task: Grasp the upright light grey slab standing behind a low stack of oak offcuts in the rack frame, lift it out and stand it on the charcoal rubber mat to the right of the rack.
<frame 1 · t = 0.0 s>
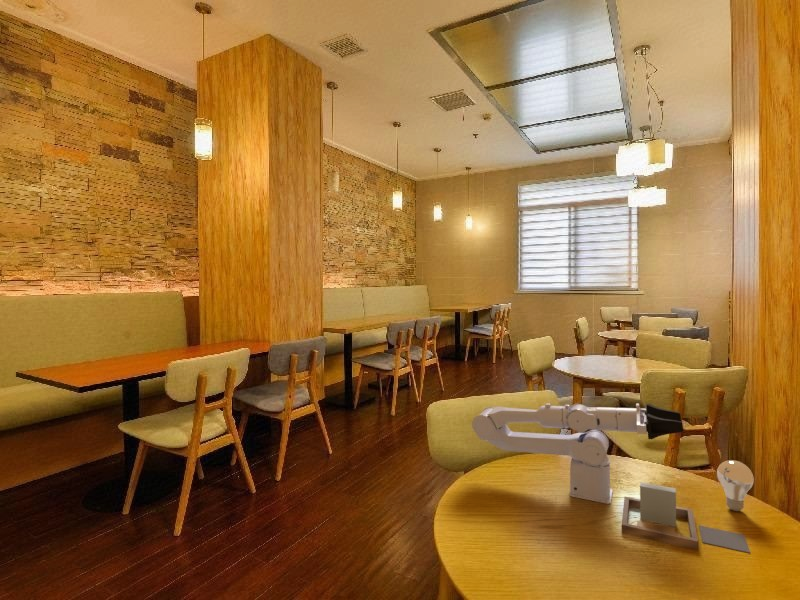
hand: (681, 421, 104), 22 cm above the table, tool horizontal, fingers open, 7 cm apart
rack: (657, 525, 100), on the table
offcut lower: (658, 537, 97), on the table, touching offcut upper
light bulb: (734, 511, 105), on the table
light grey slab: (657, 521, 101), on the table
mat: (723, 539, 94), on the table
offcut upper: (656, 532, 97), resting on offcut lower
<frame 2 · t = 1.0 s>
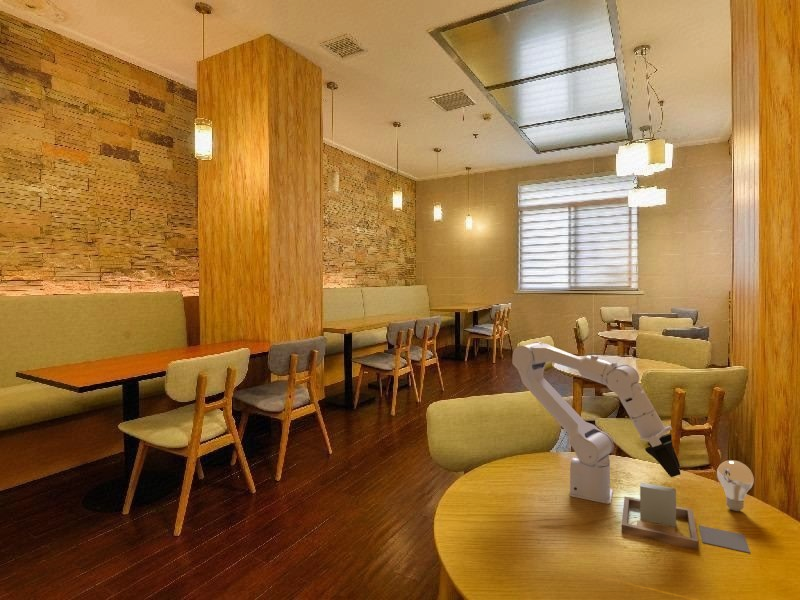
hand: (675, 471, 100), 12 cm above the table, tool tilted 30°, fingers open, 7 cm apart
nothing on the table moved.
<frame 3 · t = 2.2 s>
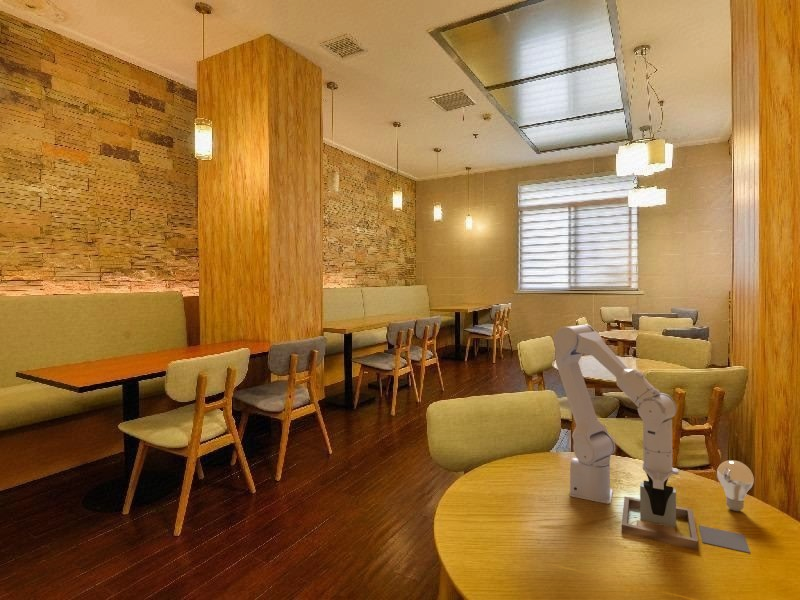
hand: (657, 506, 101), 3 cm above the table, tool pointing down, fingers open, 7 cm apart
nothing on the table moved.
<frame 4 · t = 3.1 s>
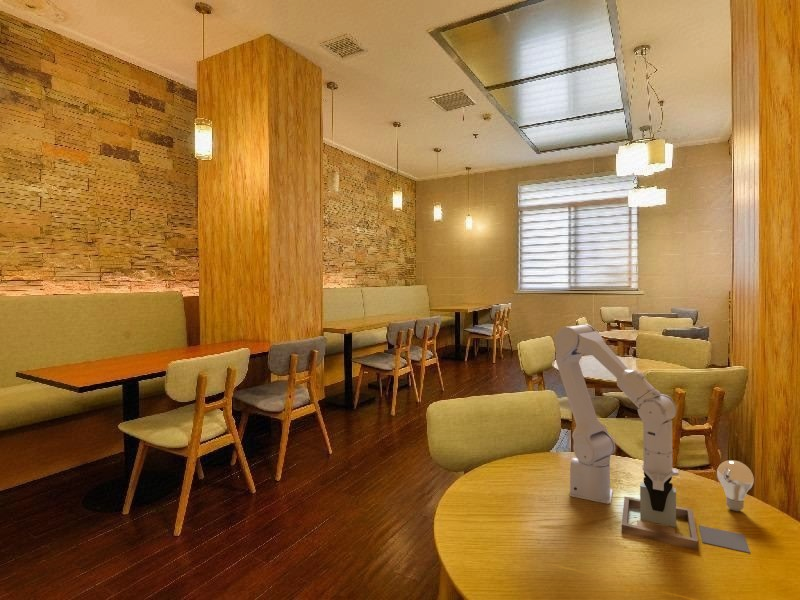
hand: (657, 507, 101), 3 cm above the table, tool pointing down, fingers closed on light grey slab, 2 cm apart
light grey slab: (657, 521, 101), on the table, touching gripper
everything else where it was.
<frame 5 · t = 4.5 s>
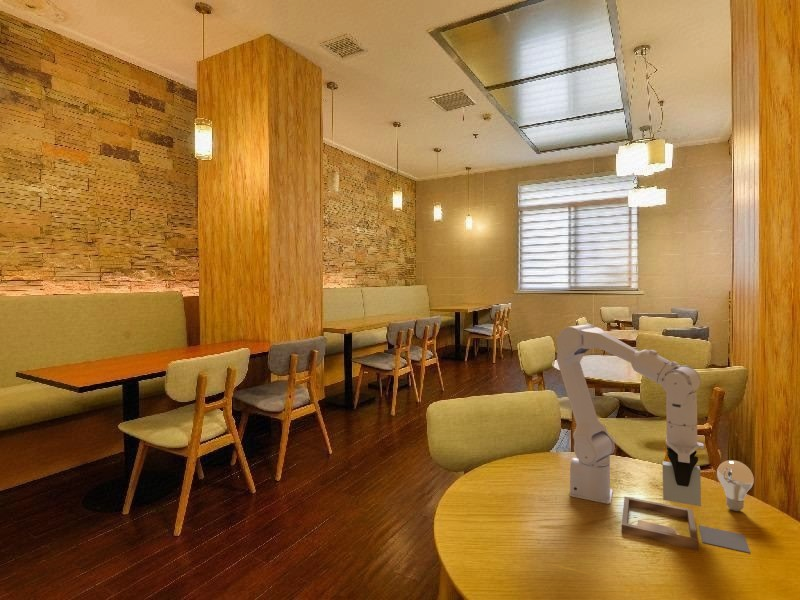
hand: (682, 482, 98), 10 cm above the table, tool pointing down, fingers closed on light grey slab, 2 cm apart
light grey slab: (681, 500, 98), point 6 cm above the table, touching gripper
everything else where it was.
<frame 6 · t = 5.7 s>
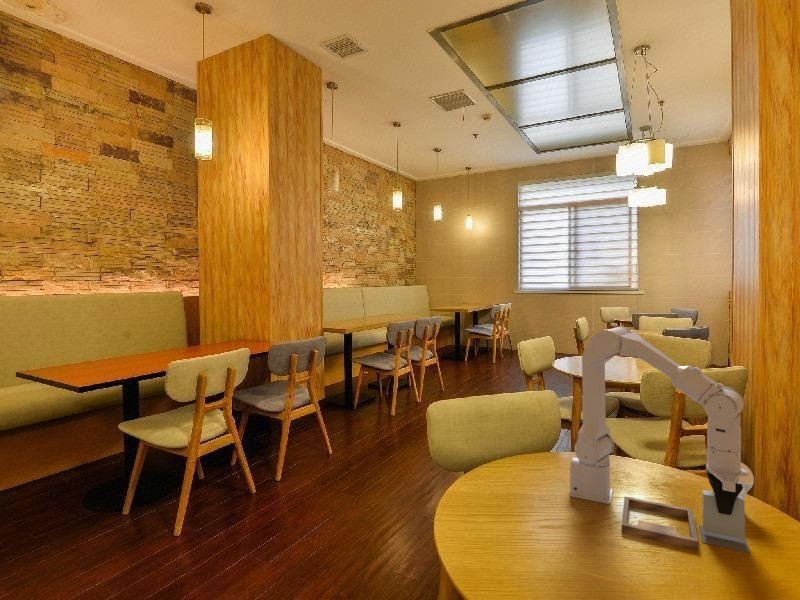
hand: (723, 510, 93), 6 cm above the table, tool pointing down, fingers closed on light grey slab, 2 cm apart
light grey slab: (723, 532, 94), point 2 cm above the table, touching gripper
everything else where it was.
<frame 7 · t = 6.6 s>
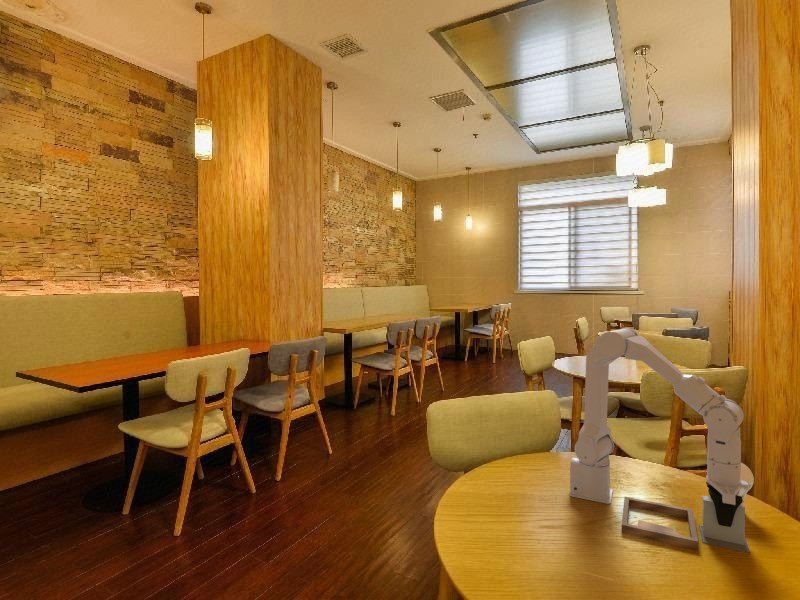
hand: (723, 522, 94), 4 cm above the table, tool pointing down, fingers closed on light grey slab, 2 cm apart
light grey slab: (723, 538, 94), resting on mat, touching gripper
everything else where it was.
when the fingers open (4 cm above the table, at t = 6.8 s): light grey slab stays where it is, resting on mat.
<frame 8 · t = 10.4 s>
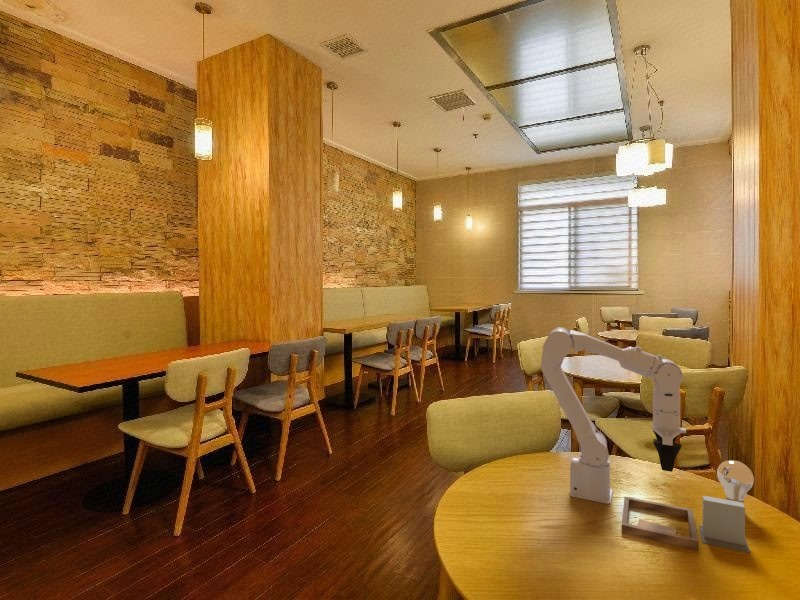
hand: (666, 464, 108), 10 cm above the table, tool pointing down, fingers open, 7 cm apart
light grey slab: (723, 538, 94), resting on mat
everything else where it was.
at the end: light grey slab inside the target area on the mat (0.1 cm from its centre), point 0.3 cm above the mat's base; light grey slab tilted 0°; the gripper is holding nothing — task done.
